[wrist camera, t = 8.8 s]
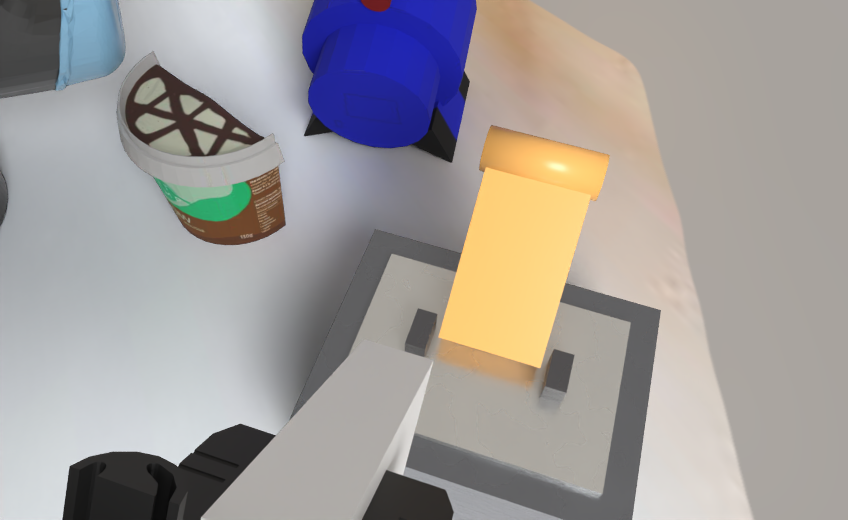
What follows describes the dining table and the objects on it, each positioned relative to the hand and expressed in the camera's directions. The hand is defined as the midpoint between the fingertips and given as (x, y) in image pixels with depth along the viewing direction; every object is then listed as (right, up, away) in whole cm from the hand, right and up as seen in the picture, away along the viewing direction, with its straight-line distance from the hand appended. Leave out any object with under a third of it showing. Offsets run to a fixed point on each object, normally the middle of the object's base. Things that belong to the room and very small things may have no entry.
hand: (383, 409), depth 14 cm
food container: (-15, +6, +35) cm, 38 cm away
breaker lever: (+4, -2, +18) cm, 19 cm away
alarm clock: (-2, +15, +41) cm, 44 cm away
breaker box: (+4, -7, +27) cm, 28 cm away
